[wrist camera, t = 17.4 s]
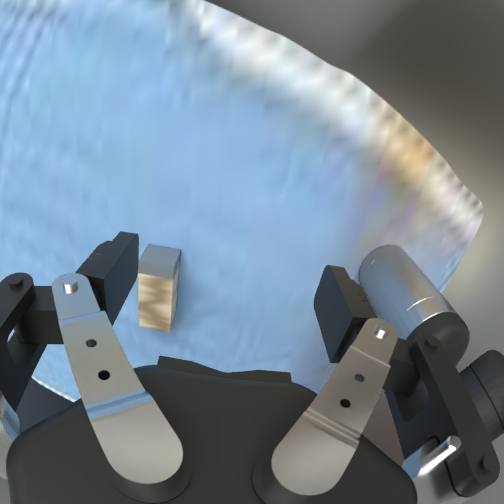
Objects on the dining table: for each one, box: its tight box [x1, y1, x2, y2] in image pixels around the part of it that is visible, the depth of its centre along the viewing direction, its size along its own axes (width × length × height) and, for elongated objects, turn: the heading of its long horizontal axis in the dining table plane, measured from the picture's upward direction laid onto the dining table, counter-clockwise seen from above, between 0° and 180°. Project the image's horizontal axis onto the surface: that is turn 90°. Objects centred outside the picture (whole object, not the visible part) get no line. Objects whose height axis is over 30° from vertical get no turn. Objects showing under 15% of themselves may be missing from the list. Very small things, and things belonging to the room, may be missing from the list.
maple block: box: [138, 244, 181, 332], centre depth 44 cm, size 5×5×12 cm
